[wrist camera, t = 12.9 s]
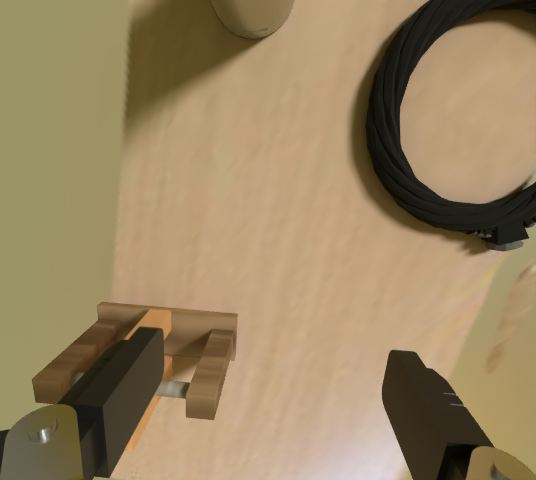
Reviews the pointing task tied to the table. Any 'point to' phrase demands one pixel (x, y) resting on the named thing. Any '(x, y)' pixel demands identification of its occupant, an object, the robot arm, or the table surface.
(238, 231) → the table surface
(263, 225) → the table surface
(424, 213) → the cable lock
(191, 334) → the rail
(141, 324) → the orange block
